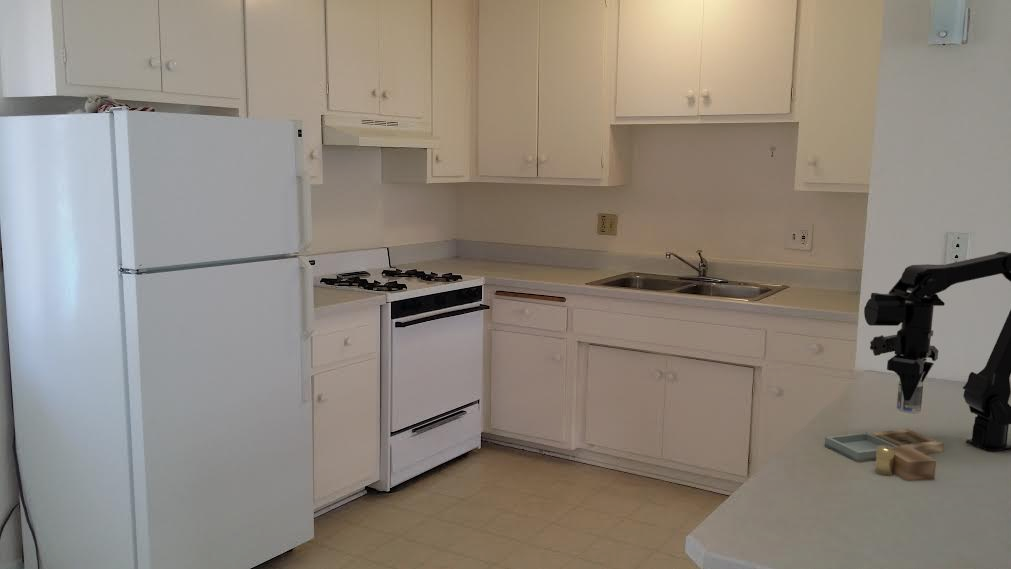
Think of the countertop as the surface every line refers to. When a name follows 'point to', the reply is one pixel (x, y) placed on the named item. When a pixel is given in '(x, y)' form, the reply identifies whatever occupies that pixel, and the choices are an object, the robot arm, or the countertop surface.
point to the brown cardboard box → (913, 464)
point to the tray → (856, 445)
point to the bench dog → (884, 460)
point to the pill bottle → (913, 403)
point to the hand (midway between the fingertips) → (909, 397)
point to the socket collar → (911, 440)
